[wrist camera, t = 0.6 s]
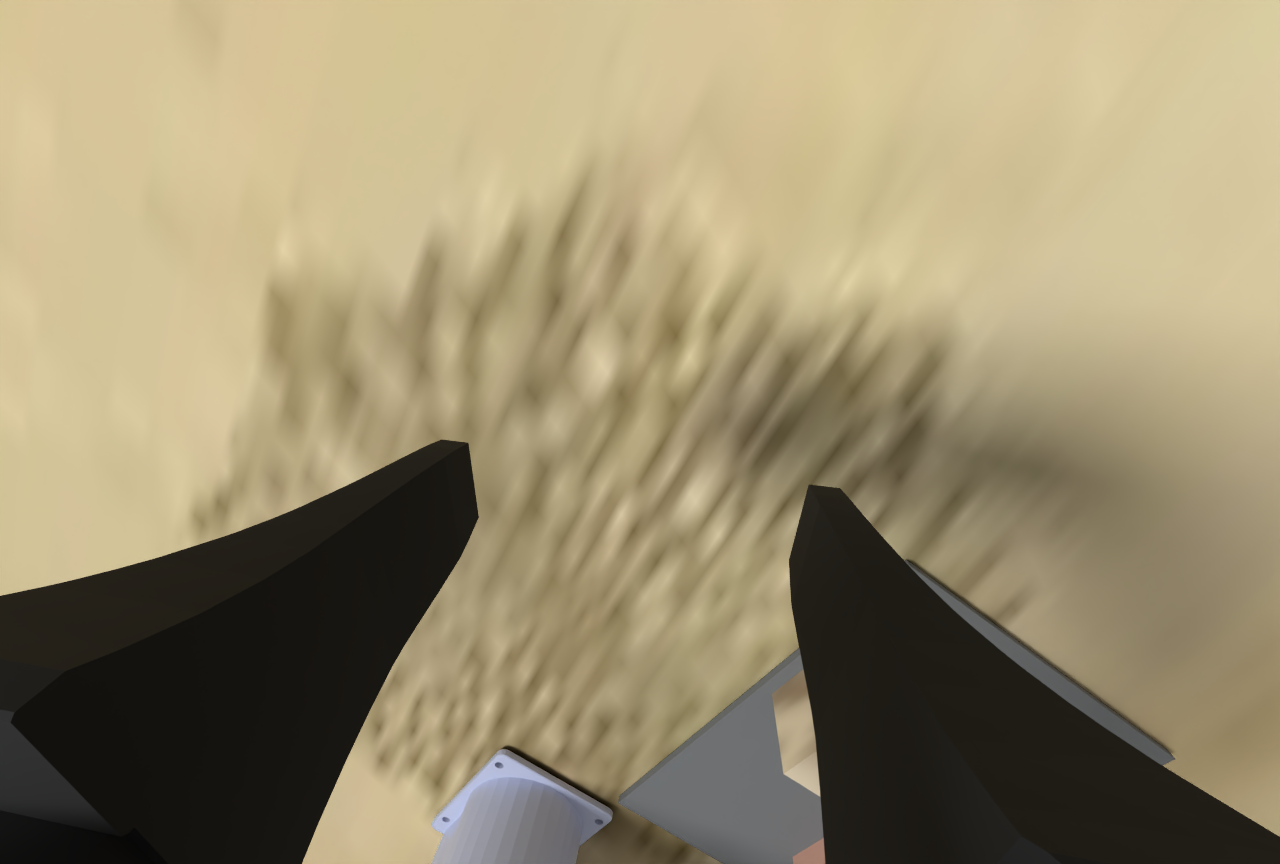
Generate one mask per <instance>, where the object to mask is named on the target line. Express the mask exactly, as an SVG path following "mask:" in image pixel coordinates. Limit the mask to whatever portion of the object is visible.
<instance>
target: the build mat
mask: <svg viewBox="0 0 1280 864" xmlns="http://www.w3.org/2000/svg"><path fill="white" fill-rule="evenodd" d="M905 562H906V563H907V564H908V565H909V566H910V567H911V569H912V570H913V571H914V572H915V573H916V574H917V575H918V576H919V577H920V578H921V579H922V580H923V581H924V582H925V583H926V584H927V585H928V586H929V587H930V588H931V589H932V590H933V591H935V592H936V593H937V594H938V595H939V596H940V597H941V598H942V599H943V600H944V601H945V602H946V603H947V604H948V605H949V606H950V607H951V608H952V609H953V610H954V611H956V612H957V613H958V614H959V615H960V616H961V617H962V618H963V619H964V620H966V621H967V622H968V623H969V624H970V625H971V626H973V627H974V628H975V629H976V630H977V631H978V632H980V633H981V634H982V635H983V636H984V637H985V638H987V639H988V640H989V641H990V642H991V643H993V644H994V645H995V646H996V647H997V648H998V649H1000V650H1001V651H1002V652H1003V653H1005V654H1006V655H1007V656H1008V657H1010V658H1011V659H1012V660H1013V661H1015V662H1016V663H1017V664H1018V665H1020V666H1021V667H1022V668H1023V669H1025V670H1026V671H1027V672H1029V673H1030V674H1031V675H1033V676H1034V677H1035V678H1037V679H1038V680H1039V681H1041V682H1042V683H1043V684H1045V685H1046V686H1047V687H1049V688H1050V689H1051V690H1053V691H1054V692H1055V693H1057V694H1058V695H1059V696H1061V697H1062V698H1063V699H1065V700H1066V701H1068V702H1069V703H1070V704H1072V705H1073V706H1075V707H1076V708H1077V709H1079V710H1080V711H1082V712H1083V713H1085V714H1086V715H1087V716H1089V717H1090V718H1092V719H1093V720H1095V721H1096V722H1097V723H1099V724H1100V725H1102V726H1103V727H1105V728H1106V729H1108V730H1109V731H1111V732H1112V733H1114V734H1115V735H1117V736H1118V737H1120V738H1121V739H1123V740H1124V741H1126V742H1127V743H1129V744H1130V745H1132V746H1133V747H1135V748H1136V749H1138V750H1139V751H1141V752H1142V753H1144V754H1145V755H1147V756H1148V757H1150V758H1151V759H1153V760H1154V761H1156V762H1157V763H1159V764H1160V765H1164V764H1166V763H1168V762H1170V761H1172V760H1174V759H1175V758H1174V757H1173V756H1172V754H1171V753H1170V752H1169V751H1168V750H1167V749H1165V748H1164V747H1163V746H1161V745H1160V744H1158V743H1157V742H1156V741H1154V740H1153V739H1152V738H1150V737H1149V736H1147V735H1146V734H1145V733H1143V732H1142V731H1141V730H1139V729H1138V728H1136V727H1135V726H1134V725H1132V724H1131V723H1130V722H1128V721H1127V720H1125V719H1124V718H1123V717H1121V716H1120V715H1119V714H1117V713H1116V712H1114V711H1113V710H1112V709H1110V708H1109V707H1108V706H1106V705H1105V704H1104V703H1102V702H1101V701H1099V700H1098V699H1097V698H1095V697H1094V696H1093V695H1091V694H1090V693H1088V692H1087V691H1086V690H1084V689H1083V688H1082V687H1080V686H1079V685H1077V684H1076V683H1075V682H1073V681H1072V680H1071V679H1069V678H1068V677H1066V676H1065V675H1064V674H1062V673H1061V672H1060V671H1058V670H1057V669H1055V668H1054V667H1053V666H1051V665H1050V664H1049V663H1047V662H1046V661H1045V660H1043V659H1042V658H1040V657H1039V656H1038V655H1036V654H1035V653H1034V652H1032V651H1031V650H1029V649H1028V648H1027V647H1025V646H1024V645H1023V644H1021V643H1020V642H1018V641H1017V640H1016V639H1014V638H1013V637H1012V636H1010V635H1009V634H1007V633H1006V632H1005V631H1003V630H1002V629H1001V628H999V627H998V626H996V625H995V624H994V623H992V622H991V621H990V620H988V619H987V618H986V617H984V616H983V615H981V614H980V613H979V612H977V611H976V610H975V609H973V608H972V607H970V606H969V605H968V604H966V603H965V602H964V601H962V600H961V599H959V598H958V597H957V596H955V595H954V594H953V593H951V592H950V591H948V590H947V589H946V588H944V587H943V586H942V585H940V584H939V583H937V582H936V581H935V580H933V579H932V578H931V577H929V576H928V575H927V574H925V573H924V572H922V571H921V570H920V569H918V568H917V567H916V566H914V565H913V564H911V563H910V562H909V561H907V560H905ZM801 670H803V664H802V659H801V654H800V648H799V649H797V650H796V651H795V652H794V653H793V654H791V655H790V656H789V657H788V658H786V659H785V660H784V661H783V662H782V663H780V664H779V665H778V666H777V667H776V668H774V669H773V670H772V671H771V672H769V673H768V674H767V675H766V676H765V677H763V678H762V679H761V680H760V681H759V682H757V683H756V684H755V685H754V686H752V687H751V688H750V689H749V690H748V691H746V692H745V693H744V694H743V695H742V696H740V697H739V698H738V699H737V700H735V701H734V702H733V703H732V704H731V705H729V706H728V707H727V708H726V709H725V710H723V711H722V712H721V713H720V714H718V715H717V716H716V717H715V718H714V719H712V720H711V721H710V722H709V723H708V724H706V725H705V726H704V727H703V728H701V729H700V730H699V731H698V732H697V733H695V734H694V735H693V736H692V737H691V738H689V739H688V740H687V741H686V742H684V743H683V744H682V745H681V746H680V747H678V748H677V749H676V750H675V751H673V752H672V753H671V754H670V755H669V756H667V757H666V758H665V759H664V760H663V761H661V762H660V763H659V764H658V765H656V766H655V767H654V768H653V769H652V770H650V771H649V772H648V773H647V774H646V775H644V776H643V777H642V778H641V779H639V780H638V781H637V782H636V783H635V784H633V785H632V786H631V787H630V788H629V789H627V790H626V791H625V792H624V793H622V794H621V795H620V796H619V802H618V803H619V804H621V805H622V806H624V807H626V808H628V809H629V810H631V811H633V812H635V813H636V814H638V815H640V816H642V817H643V818H645V819H647V820H648V821H650V822H652V823H654V824H655V825H657V826H659V827H661V828H662V829H664V830H666V831H667V832H669V833H671V834H673V835H674V836H676V837H678V838H680V839H681V840H683V841H685V842H687V843H688V844H690V845H692V846H693V847H695V848H697V849H699V850H700V851H702V852H704V853H706V854H707V855H709V856H711V857H712V858H714V859H716V860H718V861H719V862H721V863H723V864H793V856H795V855H796V854H798V853H800V852H801V851H803V850H805V849H806V848H808V847H810V846H811V845H813V844H814V843H816V842H818V841H819V840H821V839H823V824H822V810H821V797H820V796H818V795H817V794H815V793H813V792H812V791H810V790H808V789H807V788H805V787H804V786H802V785H800V784H799V783H797V782H796V781H794V780H792V779H791V778H789V777H788V776H786V775H784V774H783V767H782V760H781V753H780V747H779V740H778V733H777V726H776V719H775V712H774V705H773V698H772V694H773V693H774V692H775V691H776V690H778V689H779V688H780V687H781V686H783V685H784V684H785V683H786V682H788V681H789V680H790V679H791V678H793V677H794V676H795V675H796V674H798V673H799V672H800V671H801Z"/></svg>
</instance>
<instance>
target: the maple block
mask: <svg viewBox="0 0 1280 864" xmlns="http://www.w3.org/2000/svg"><path fill="white" fill-rule="evenodd" d="M772 698H773V705H774V712H775V719H776V726H777V733H778V740H779V747H780V753H781V760H782V767H783V774H784V775H786V776H788V777H789V778H791V779H792V780H794V781H796V782H797V783H799V784H800V785H802V786H804V787H805V788H807V789H808V790H810V791H812V792H813V793H815V794H817V795H818V796H820V785H819V774H818V763H817V751H816V740H815V732H814V725H813V719H812V712H811V706H810V701H809V696H808V691H807V685H806V680H805V675H804V670H801V671H800V672H799V673H798V674H796V675H795V676H794V677H793V678H791V679H790V680H789V681H788V682H786V683H785V684H784V685H783V686H781V687H780V688H779V689H778V690H776V691H775V692H774V693H773V694H772Z"/></svg>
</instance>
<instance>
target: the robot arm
mask: <svg viewBox="0 0 1280 864" xmlns="http://www.w3.org/2000/svg"><path fill="white" fill-rule="evenodd" d="M478 518H479V516H478V509H477V502H476V495H475V487H474V480H473V473H472V466H471V459H470V451H469V444H468V443H465V442H457V441H449V440H440V441H437V442H435V443H432V444H430V445H428V446H426V447H423V448H421V449H419V450H417V451H415V452H413V453H411V454H409V455H407V456H405V457H403V458H401V459H399V460H397V461H395V462H393V463H391V464H389V465H387V466H385V467H383V468H381V469H379V470H377V471H375V472H373V473H371V474H369V475H367V476H365V477H363V478H361V479H359V480H357V481H356V482H353V483H351V484H349V485H347V486H345V487H343V488H341V489H338V490H336V491H334V492H332V493H330V494H328V495H325V496H323V497H321V498H319V499H317V500H315V501H313V502H310V503H308V504H306V505H304V506H302V507H299V508H297V509H295V510H292V511H290V512H288V513H285V514H283V515H280V516H278V517H275V518H273V519H270V520H268V521H265V522H262V523H260V524H257V525H255V526H252V527H249V528H247V529H244V530H241V531H239V532H236V533H233V534H230V535H227V536H225V537H221V538H218V539H215V540H212V541H209V542H206V543H203V544H200V545H196V546H193V547H190V548H187V549H184V550H181V551H178V552H175V553H171V554H168V555H165V556H162V557H159V558H155V559H152V560H148V561H145V562H141V563H137V564H134V565H130V566H126V567H123V568H119V569H115V570H111V571H108V572H104V573H100V574H96V575H92V576H88V577H84V578H80V579H76V580H72V581H67V582H63V583H59V584H54V585H50V586H46V587H41V588H36V589H31V590H27V591H22V592H17V593H12V594H7V595H3V596H0V864H302V862H303V859H304V857H305V854H306V852H307V850H308V847H309V845H310V842H311V840H312V837H313V835H314V832H315V830H316V827H317V825H318V823H319V820H320V818H321V816H322V814H323V811H324V809H325V807H326V805H327V802H328V800H329V798H330V795H331V793H332V791H333V789H334V786H335V784H336V782H337V780H338V777H339V775H340V773H341V771H342V768H343V766H344V764H345V762H346V759H347V757H348V755H349V753H350V751H351V749H352V747H353V745H354V743H355V741H356V738H357V736H358V734H359V732H360V730H361V728H362V726H363V724H364V722H365V720H366V717H367V715H368V713H369V711H370V709H371V707H372V705H373V703H374V701H375V699H376V697H377V695H378V693H379V691H380V689H381V687H382V686H383V684H384V682H385V680H386V678H387V676H388V674H389V672H390V670H391V668H392V666H393V664H394V662H395V661H396V659H397V657H398V656H399V654H400V652H401V650H402V649H403V647H404V645H405V644H406V642H407V641H408V639H409V637H410V636H411V634H412V633H413V631H414V630H415V628H416V626H417V625H418V623H419V622H420V620H421V619H422V617H423V616H424V614H425V612H426V611H427V609H428V608H429V606H430V605H431V603H432V602H433V600H434V598H435V597H436V595H437V594H438V592H439V591H440V589H441V588H442V586H443V584H444V583H445V581H446V580H447V578H448V576H449V575H450V573H451V572H452V570H453V568H454V567H455V565H456V564H457V562H458V560H459V559H460V557H461V555H462V553H463V551H464V549H465V547H466V545H467V542H468V540H469V538H470V536H471V534H472V531H473V529H474V527H475V524H476V522H477V520H478ZM789 568H790V588H791V603H792V610H793V616H794V621H795V627H796V632H797V638H798V643H799V648H800V654H801V659H802V664H803V670H804V675H805V680H806V685H807V691H808V696H809V701H810V706H811V712H812V719H813V725H814V732H815V740H816V751H817V763H818V774H819V785H820V797H821V810H822V824H823V838H824V851H825V864H1280V837H1279V836H1277V835H1276V834H1274V833H1272V832H1271V831H1269V830H1267V829H1266V828H1264V827H1262V826H1261V825H1259V824H1257V823H1256V822H1254V821H1252V820H1251V819H1249V818H1247V817H1246V816H1244V815H1242V814H1241V813H1239V812H1237V811H1236V810H1234V809H1233V808H1231V807H1229V806H1228V805H1226V804H1224V803H1223V802H1221V801H1219V800H1218V799H1216V798H1214V797H1213V796H1211V795H1209V794H1208V793H1206V792H1204V791H1203V790H1201V789H1199V788H1198V787H1196V786H1194V785H1193V784H1191V783H1189V782H1188V781H1186V780H1185V779H1183V778H1181V777H1180V776H1178V775H1176V774H1175V773H1173V772H1171V771H1170V770H1168V769H1167V768H1165V767H1164V766H1162V765H1160V764H1159V763H1157V762H1156V761H1154V760H1153V759H1151V758H1150V757H1148V756H1147V755H1145V754H1144V753H1142V752H1141V751H1139V750H1138V749H1136V748H1135V747H1133V746H1132V745H1130V744H1129V743H1127V742H1126V741H1124V740H1123V739H1121V738H1120V737H1118V736H1117V735H1115V734H1114V733H1112V732H1111V731H1109V730H1108V729H1106V728H1105V727H1103V726H1102V725H1100V724H1099V723H1097V722H1096V721H1095V720H1093V719H1092V718H1090V717H1089V716H1087V715H1086V714H1085V713H1083V712H1082V711H1080V710H1079V709H1077V708H1076V707H1075V706H1073V705H1072V704H1070V703H1069V702H1068V701H1066V700H1065V699H1063V698H1062V697H1061V696H1059V695H1058V694H1057V693H1055V692H1054V691H1053V690H1051V689H1050V688H1049V687H1047V686H1046V685H1045V684H1043V683H1042V682H1041V681H1039V680H1038V679H1037V678H1035V677H1034V676H1033V675H1031V674H1030V673H1029V672H1027V671H1026V670H1025V669H1023V668H1022V667H1021V666H1020V665H1018V664H1017V663H1016V662H1015V661H1013V660H1012V659H1011V658H1010V657H1008V656H1007V655H1006V654H1005V653H1003V652H1002V651H1001V650H1000V649H998V648H997V647H996V646H995V645H994V644H993V643H991V642H990V641H989V640H988V639H987V638H985V637H984V636H983V635H982V634H981V633H980V632H978V631H977V630H976V629H975V628H974V627H973V626H971V625H970V624H969V623H968V622H967V621H966V620H964V619H963V618H962V617H961V616H960V615H959V614H958V613H957V612H956V611H954V610H953V609H952V608H951V607H950V606H949V605H948V604H947V603H946V602H945V601H944V600H943V599H942V598H941V597H940V596H939V595H938V594H937V593H936V592H935V591H933V590H932V589H931V588H930V587H929V586H928V585H927V584H926V583H925V582H924V581H923V580H922V579H921V578H920V577H919V576H918V575H917V574H916V573H915V572H914V571H913V570H912V569H911V567H910V566H909V565H908V564H907V563H906V562H905V561H904V560H903V559H902V558H901V557H900V556H899V555H898V554H897V553H896V552H895V550H894V549H893V548H892V547H891V546H890V545H889V544H888V543H887V542H886V541H885V539H884V538H883V537H882V536H881V535H880V534H879V533H878V532H877V530H876V529H875V528H874V527H873V526H872V525H871V523H870V522H869V521H868V520H867V519H866V518H865V517H864V515H863V514H862V513H861V512H860V511H859V510H858V508H857V507H856V506H855V505H854V504H853V502H852V501H851V500H850V499H849V498H848V497H847V496H846V494H845V493H844V492H843V491H842V490H841V489H840V488H832V487H824V486H816V485H809V486H808V490H807V494H806V498H805V501H804V505H803V509H802V513H801V517H800V520H799V524H798V528H797V532H796V536H795V539H794V543H793V547H792V551H791V555H790V558H789ZM612 816H613V812H612V810H611V809H610V808H609V807H607V806H605V805H603V804H602V803H600V802H598V801H596V800H595V799H593V798H591V797H589V796H588V795H586V794H584V793H582V792H581V791H579V790H577V789H575V788H574V787H572V786H570V785H568V784H567V783H565V782H563V781H562V780H560V779H558V778H556V777H555V776H553V775H551V774H549V773H548V772H546V771H544V770H542V769H541V768H539V767H537V766H535V765H534V764H532V763H530V762H528V761H527V760H525V759H523V758H521V757H520V756H518V755H516V754H514V753H513V752H511V751H509V750H507V749H501V750H499V751H498V752H497V753H496V754H495V755H494V756H493V757H492V758H491V759H490V760H489V761H488V762H487V763H486V764H485V765H484V766H483V767H482V768H481V769H480V770H479V772H478V773H477V774H476V775H475V776H474V777H473V778H472V779H471V780H470V781H469V782H468V783H467V784H466V785H465V786H464V787H463V788H462V789H461V790H460V791H459V792H458V793H457V794H456V796H455V797H454V798H453V799H452V800H451V801H450V802H449V803H448V804H447V805H446V806H445V807H444V808H443V809H442V810H441V811H440V812H439V813H438V814H437V815H436V816H435V818H434V820H433V822H432V827H433V828H434V829H435V830H437V831H439V832H441V833H442V834H443V837H442V839H441V842H440V844H439V846H438V849H437V851H436V853H435V856H434V858H433V861H432V863H431V864H576V860H577V855H578V850H579V846H580V845H582V844H583V843H584V842H585V841H587V840H588V839H589V838H590V837H592V836H593V835H594V834H595V833H597V832H598V831H599V830H600V829H602V828H603V827H604V826H605V825H607V824H608V823H609V822H610V821H611V820H612Z"/></svg>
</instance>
